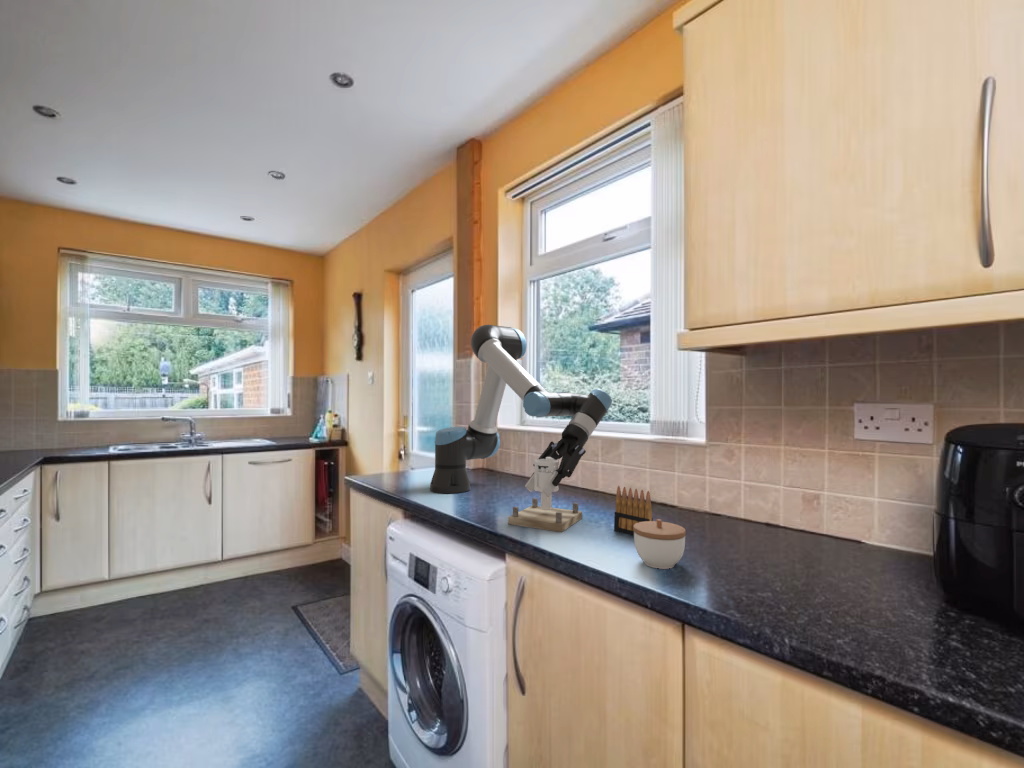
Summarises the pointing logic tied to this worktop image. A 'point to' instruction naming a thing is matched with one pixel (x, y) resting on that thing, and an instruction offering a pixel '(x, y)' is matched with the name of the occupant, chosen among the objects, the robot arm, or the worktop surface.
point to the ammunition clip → (631, 510)
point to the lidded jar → (659, 543)
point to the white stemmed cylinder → (544, 479)
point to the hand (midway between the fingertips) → (536, 491)
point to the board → (545, 517)
